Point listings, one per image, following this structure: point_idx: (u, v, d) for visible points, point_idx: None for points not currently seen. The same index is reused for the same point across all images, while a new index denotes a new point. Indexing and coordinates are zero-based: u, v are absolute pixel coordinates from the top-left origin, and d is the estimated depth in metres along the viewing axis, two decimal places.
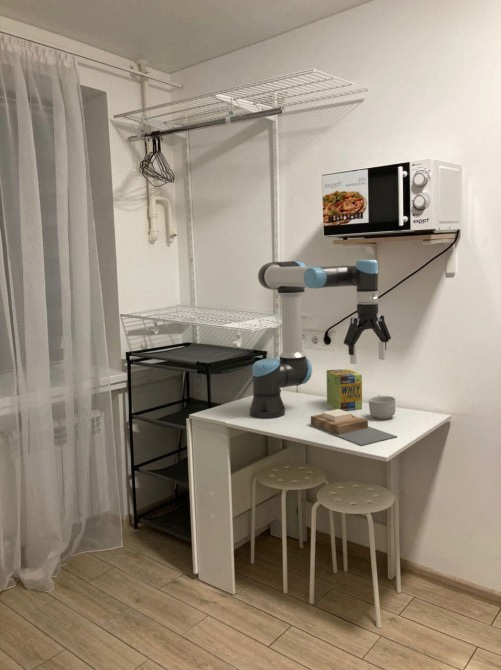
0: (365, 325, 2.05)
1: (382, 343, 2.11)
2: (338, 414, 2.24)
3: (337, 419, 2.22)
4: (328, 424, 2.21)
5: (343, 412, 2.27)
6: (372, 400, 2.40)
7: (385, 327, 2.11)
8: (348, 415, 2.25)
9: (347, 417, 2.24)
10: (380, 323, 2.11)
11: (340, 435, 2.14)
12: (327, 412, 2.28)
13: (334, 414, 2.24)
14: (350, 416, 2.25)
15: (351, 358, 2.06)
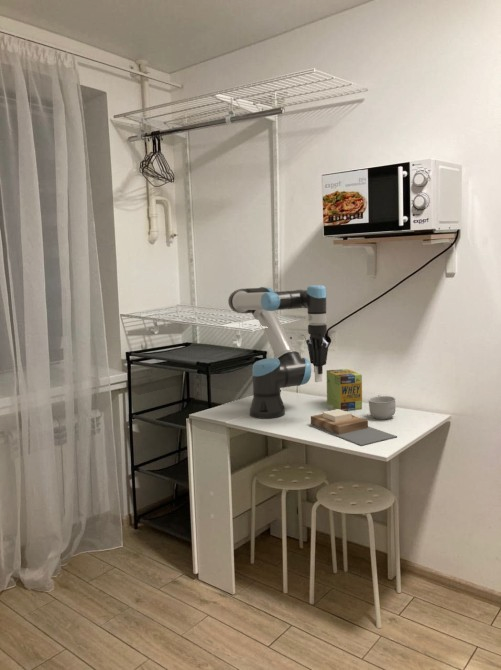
0: (312, 344, 2.34)
1: None
2: (338, 414, 2.24)
3: (337, 419, 2.22)
4: (328, 424, 2.21)
5: (343, 412, 2.27)
6: (372, 400, 2.41)
7: (321, 353, 2.30)
8: (348, 415, 2.25)
9: (347, 417, 2.24)
10: None
11: (340, 435, 2.14)
12: (327, 412, 2.28)
13: (334, 414, 2.24)
14: (350, 416, 2.25)
15: None
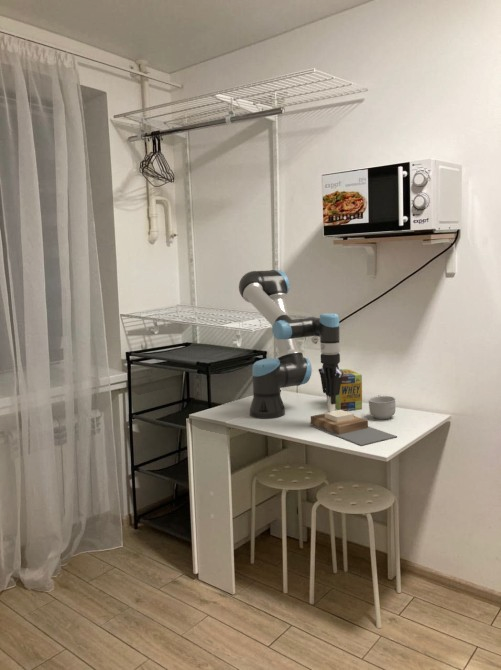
0: (325, 373, 2.28)
1: None
2: (340, 415, 2.23)
3: (339, 420, 2.21)
4: (328, 424, 2.21)
5: (345, 413, 2.26)
6: (372, 400, 2.40)
7: (335, 383, 2.24)
8: (350, 416, 2.24)
9: (349, 417, 2.23)
10: None
11: (340, 435, 2.14)
12: (329, 413, 2.27)
13: (336, 415, 2.23)
14: (352, 417, 2.24)
15: None
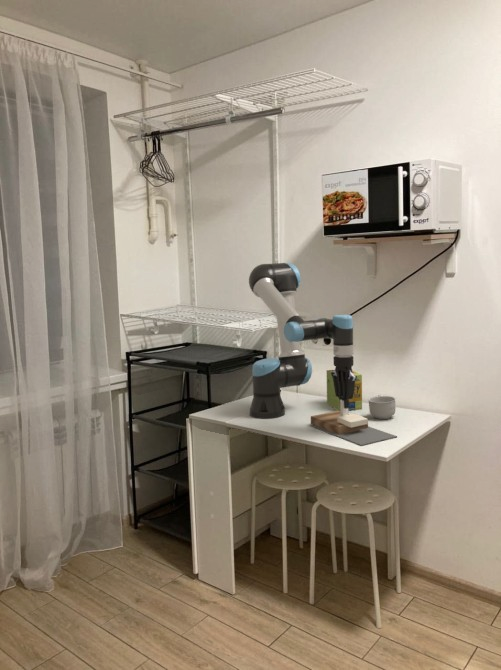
0: (338, 376, 2.21)
1: None
2: (354, 420, 2.16)
3: (353, 425, 2.14)
4: (328, 424, 2.21)
5: (358, 417, 2.19)
6: (372, 400, 2.41)
7: (348, 387, 2.17)
8: (364, 421, 2.17)
9: (363, 422, 2.16)
10: None
11: (340, 435, 2.14)
12: (342, 417, 2.20)
13: (349, 419, 2.16)
14: (366, 422, 2.17)
15: None
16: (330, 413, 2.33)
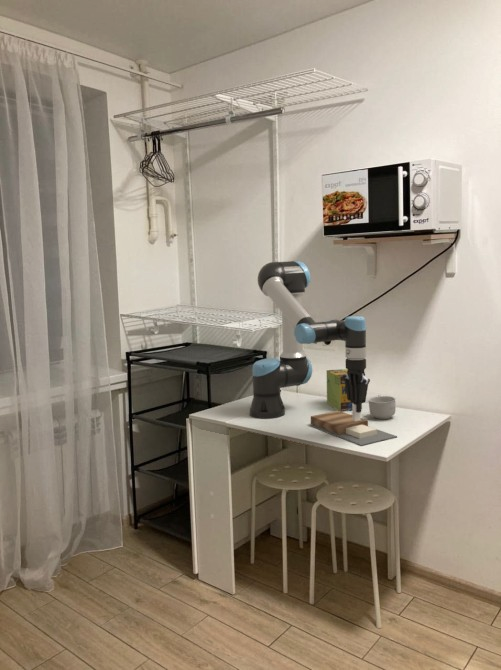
0: (350, 379, 2.15)
1: None
2: (362, 430, 2.12)
3: (362, 436, 2.10)
4: (328, 424, 2.21)
5: (367, 428, 2.15)
6: (372, 400, 2.41)
7: (361, 390, 2.11)
8: (373, 431, 2.13)
9: (372, 433, 2.12)
10: None
11: (340, 435, 2.14)
12: (350, 428, 2.16)
13: (358, 430, 2.12)
14: (375, 432, 2.13)
15: None
16: (330, 413, 2.33)
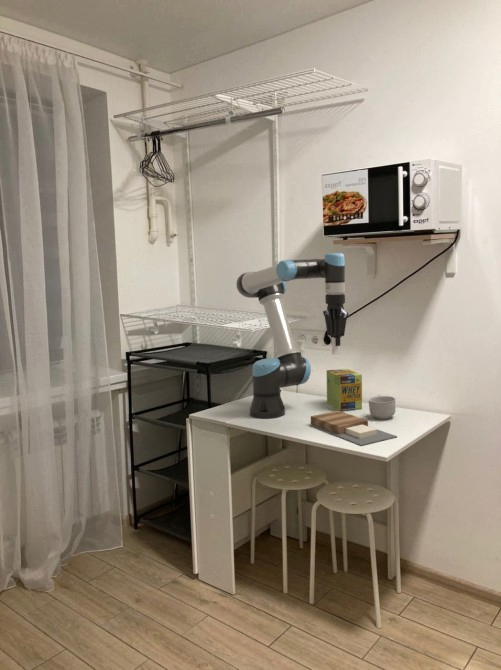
0: (329, 314, 2.25)
1: None
2: (362, 430, 2.12)
3: (362, 436, 2.10)
4: (328, 424, 2.21)
5: (367, 428, 2.15)
6: (372, 400, 2.41)
7: (339, 323, 2.20)
8: (373, 431, 2.13)
9: (372, 433, 2.12)
10: None
11: (340, 435, 2.14)
12: (350, 428, 2.16)
13: (358, 430, 2.12)
14: (375, 432, 2.13)
15: None
16: (330, 413, 2.33)
